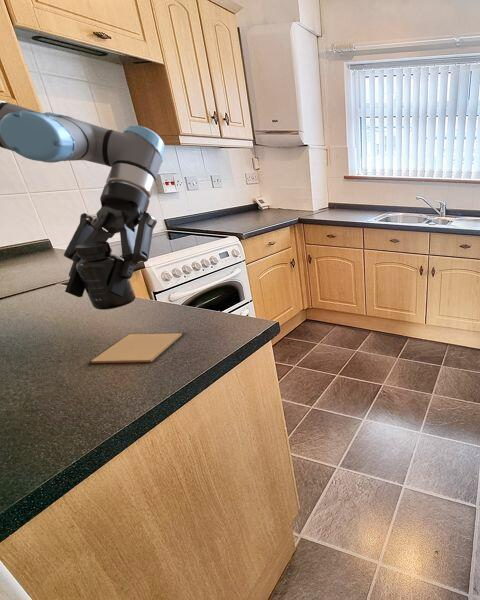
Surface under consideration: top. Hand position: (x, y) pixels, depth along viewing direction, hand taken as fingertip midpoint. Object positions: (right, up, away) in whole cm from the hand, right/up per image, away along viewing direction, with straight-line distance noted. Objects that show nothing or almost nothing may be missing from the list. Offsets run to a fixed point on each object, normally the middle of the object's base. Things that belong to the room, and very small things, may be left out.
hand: (94, 294), depth 62 cm
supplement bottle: (0, -2, +5) cm, 5 cm away
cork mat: (0, -12, +11) cm, 16 cm away
